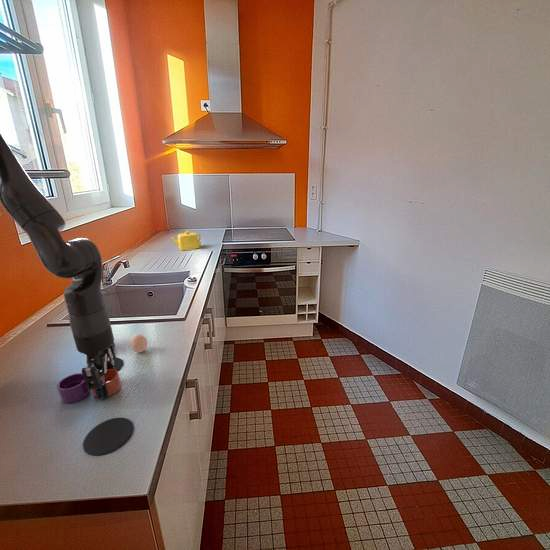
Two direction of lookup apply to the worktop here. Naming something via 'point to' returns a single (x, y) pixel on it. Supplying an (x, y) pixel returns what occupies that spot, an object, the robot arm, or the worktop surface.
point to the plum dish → (72, 388)
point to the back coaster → (116, 364)
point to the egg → (138, 343)
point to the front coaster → (108, 436)
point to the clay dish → (111, 382)
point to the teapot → (187, 241)
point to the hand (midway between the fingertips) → (107, 387)
